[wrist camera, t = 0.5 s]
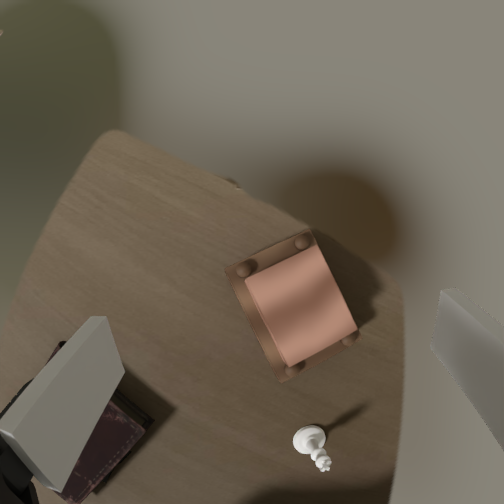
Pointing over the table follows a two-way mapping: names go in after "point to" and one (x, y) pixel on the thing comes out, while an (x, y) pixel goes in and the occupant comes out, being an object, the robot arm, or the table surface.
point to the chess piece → (312, 445)
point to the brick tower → (293, 305)
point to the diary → (105, 445)
